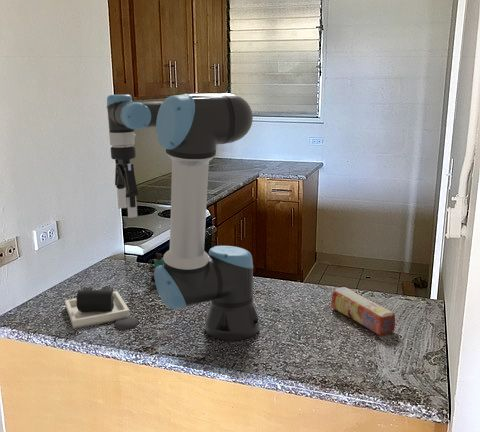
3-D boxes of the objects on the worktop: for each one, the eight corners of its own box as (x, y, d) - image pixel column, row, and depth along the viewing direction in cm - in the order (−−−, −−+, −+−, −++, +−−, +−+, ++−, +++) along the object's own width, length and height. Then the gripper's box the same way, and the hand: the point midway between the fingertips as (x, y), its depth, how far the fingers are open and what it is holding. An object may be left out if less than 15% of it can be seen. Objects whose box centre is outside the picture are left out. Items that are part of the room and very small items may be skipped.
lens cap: (140, 327, 148) (140, 324, 148) (117, 332, 146) (117, 329, 145) (134, 319, 154) (134, 315, 154) (112, 323, 151) (112, 320, 151)
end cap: (77, 316, 154) (75, 295, 152) (82, 306, 161) (80, 285, 159) (112, 314, 154) (110, 293, 153) (115, 305, 161) (114, 284, 160)
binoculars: (163, 246, 189) (178, 249, 181) (166, 274, 190) (181, 279, 183) (141, 251, 183) (156, 255, 175) (145, 280, 185) (159, 285, 177)
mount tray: (129, 317, 154) (129, 310, 153) (73, 328, 147) (72, 321, 147) (117, 298, 168) (117, 291, 167) (65, 307, 161) (65, 300, 161)
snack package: (397, 333, 142) (398, 310, 141) (378, 338, 139) (379, 315, 138) (346, 305, 161) (347, 284, 159) (329, 309, 158) (329, 288, 156)
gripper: (145, 149, 153) (149, 219, 158) (125, 141, 174) (129, 203, 180) (119, 151, 149) (125, 222, 155) (102, 142, 171) (107, 205, 177)
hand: (127, 212), depth 167 cm, fingers open, 13 cm apart
